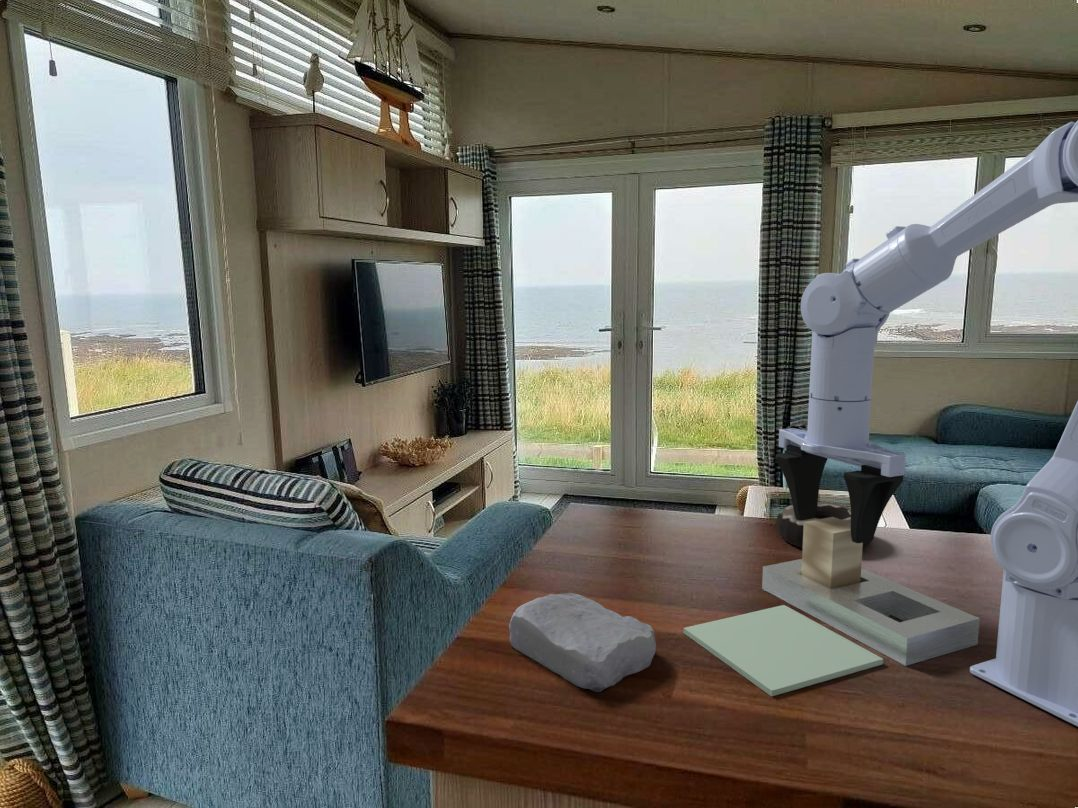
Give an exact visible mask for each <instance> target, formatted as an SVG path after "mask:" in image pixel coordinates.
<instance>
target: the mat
mask: <svg viewBox="0 0 1078 808" xmlns="http://www.w3.org/2000/svg"><path fill="white" fill-rule="evenodd" d="M683 634H684V635H686V636H687V637H688V638H690V639H691V640H693V641H694V642H695V643H697V644H698V645H700V646H701V647H703V648H704V649H705V650H706V651H707V652H709V653H710V654H712V655H714V657H716V658H718V659H719V660H720V661H721V662H723V663H724V664H725V665H727V666H729V667H730V668H732V669H733V670H734V671H736V672H737V673H738V674H739V675H741V676H742V677H744V678H745V679H746V680H748V681H749V682H751V683H752V684H753V685H755V686H756V687H758V688H759V689H760V690H762V691H763V692H765V693H766V694H767V695H769V696H770V697H774V696H778V695H781V694H786V693H788V692H792V691H795V690H799V689H802V688H803V689H804V688H805V687H810V686H812V685H816V684H820V683H824V682H826V681H830V680H833V679H837V678H840V677H844V676H849V675H851V674H853V673H854V674H855V673H858V672H861V671H865V670H868V669H872V668H875V667H879V666H881V665H883V664H884V658H882V657H880V656H878V655H877V654H875V653H873V652H871V651H869V650H868V649H866V648H864V647H862V646H860V645H858V644H857V643H855V642H853V641H851V640H850V639H848V638H846V637H844V636H842V635H840V634H838V633H837V632H835V631H833V630H832V629H829V628H827V627H825V626H823V625H822V624H820V623H818V622H816V621H815V620H813V619H811V618H810V617H808V616H806V615H804V614H802V613H800V612H798V611H796V610H795V609H792V608H790V607H789V606H787V605H785V604H781V605H778V606H777V605H776V606H773V607H769V608H763V609H760V610H757V611H751V612H748V613H747V612H746V613H744V614H743V613H742V614H738V615H735V616H734V615H733V616H730V617H725V618H721V619H718V620H717V619H716V620H713V621H708V622H703V623H698V624H695V625H690V626H686V627H683Z"/></svg>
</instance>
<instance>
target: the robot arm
mask: <svg viewBox="0 0 1078 808" xmlns="http://www.w3.org/2000/svg"><path fill="white" fill-rule="evenodd" d="M1066 203H1067V204H1071V203H1078V120H1077V121H1076V122H1074V121H1070V122H1067V123H1066V124H1064V125H1062V126H1060V127H1057V128H1056V129H1054V130H1053V131H1052V132H1051V133H1049V134H1048V135H1047V137H1046V138H1045V139H1044V140H1043V141H1042V142H1041V143H1039V144H1038V146H1036V148H1035V149H1034V150H1033V151H1031V152H1030V153H1029V154H1028V155H1026V156H1025V157H1024V158H1022V159H1021V160H1019V161H1018V162H1017V163H1015V164H1014V165H1013V166H1011V167H1010V168H1009V169H1007V170H1006V171H1005V172H1003V173H1002V174H1001V175H999V176H998V177H997V178H995V179H994V180H992V181H991V182H990V183H988V184H987V185H986V186H984V187H983V188H981V189H980V190H979V191H978V192H976V193H975V194H973V195H972V196H971V197H969V198H968V199H967V200H966V201H964V202H962V204H960V205H959V206H957V207H956V208H955V209H953V210H951V212H949V213H948V214H946V215H945V216H943V217H942V218H941V219H940V220H938V221H937V222H936V223H934V224H933V225H931V226H929V225H926V224H920V223H914V224H908V225H907V226H894V227H893V228H892V229H890V230H888V231H887V232H886V234H885V235H886V238H887V240H885V241H884V242H883V243H881V244H879V245H878V246H877V247H875V248H874V249H873V250H871V251H869V252H868V253H866V254H865V255H863V256H862V257H861V258H851V259H850V260H849V261H847V262H846V263H845V268H844V269H843V271H842V272H841V273H836V272H823V273H819V274H817V275H816V276H815V278H814V279H813V280H812V281H811V282H809V284H807V286H806V287H805V289H804V291H803V293H802V295H801V300H800V314H801V317H802V320H803V322H804V324H805V325H806V327H807V328H808V329H809V330H811V332H812V333H811V349H810V351H811V352H810V365H809V366H810V370H809V371H810V372H809V391H808V409H807V410H808V414H807V416H808V417H807V430H805V429H804V430H803V429H798V428H794V427H792V428H791V427H789V428H781V429H779V430H778V432H779V433H778V447H779V448H782V449H785V450H784V452H781V453H776V454H775V461H776V463H777V465H778V467H779V468H780V470H781V472H782V474H783V476H784V479H785V482H786V484H787V487H788V490H789V495H790V499H791V503H792V504H791V505H793V508H794V513H795V517H796V520H799V521H802V520H808V519H814V518H815V515H816V511H817V505H818V502H819V494H820V493H819V492H820V487H821V486H820V485H821V480H822V476H823V473H824V469H825V466H826V463H827V461H828V459H830V460H834V461H837V462H841V463H844V464H847V465H851V466H855V467H858V468H860V470H854V471H846V472H843V479H844V481H845V484H846V488H847V491H848V497H849V504H850V506H849V507H851V538H852V542H855V543H864V542H869V541H871V542H872V541H873V540H874V538H875V534H876V531H877V527H878V526H879V523H880V520H881V517H882V515H883V513H884V511H885V508H886V507H887V505H888V503H889V501H890V500H891V498H892V496H893V495H894V493H895V492H896V491H897V490H898V488H899V487H900V486H901V484H903V482H904V476H905V473H906V462H907V461H906V459H907V455H906V454H903V453H900V452H897V451H894V450H891V449H888V448H886V447H884V446H881V445H878V444H876V443H874V442H871V441H869V440H870V423H871V410H872V409H871V406H872V395H873V394H872V393H873V392H872V389H873V375H874V359H875V346H877V345H878V337H879V335H878V334H879V332H880V329H881V328H882V327H883V326H884V324H885V323H886V322H887V320H888V318H889V316H890V314H891V313H892V312H894V311H896V310H897V309H899V308H901V307H903V306H904V305H906V304H907V303H909V302H910V301H913V300H914V299H916V298H918V297H919V296H921V295H923V294H924V293H926V292H927V291H929V290H931V289H933V288H935V287H936V286H938V285H940V284H941V283H943V282H945V281H947V280H948V279H949V278H950V277H951V275H952V273H953V271H954V269H955V268H954V267H955V263H956V260H957V258H958V257H959V256H961V255H962V254H965V253H967V252H969V251H970V250H972V249H974V248H975V247H977V246H979V245H981V244H983V243H984V242H986V241H988V240H990V239H992V238H994V237H996V236H998V235H999V234H1001V233H1003V232H1005V231H1007V230H1008V229H1010V228H1012V227H1013V226H1015V225H1017V224H1020V223H1021V222H1023V221H1025V220H1026V219H1028V218H1030V217H1032V216H1034V215H1036V214H1038V213H1039V212H1041V211H1043V210H1044V209H1047V208H1048V207H1050V206H1053V205H1055V204H1056V205H1058V204H1066ZM873 537H874V538H873ZM990 546H991V551H992V553H993V556H994V558H995V560H996V562H997V563H998V564H999V566H1000V567H1001V569H1002V570H1003V572H1002V573H1003V575H1002V585H1001V586H1002V587H1001V596H1000V597H1001V598H1000V608H999V620H998V629H997V642H996V654H995V658H993V659H990V660H986V661H983V662H980V663H977V664H973V665H971V666H970V667H969V672H970V674H972V675H974V676H975V677H978V678H980V679H982V680H984V681H986V682H988V683H990V684H992V685H994V686H996V687H997V688H1000V689H1002V690H1003V691H1005V692H1008V693H1010V694H1012V695H1014V696H1015V697H1017V698H1019V699H1022V700H1024V701H1026V702H1028V703H1030V704H1032V705H1033V706H1035V707H1038V708H1040V709H1042V710H1044V711H1045V712H1048V713H1050V714H1052V715H1053V716H1056V717H1057V718H1060V719H1062V720H1064V721H1065V722H1067V723H1070V724H1071V725H1073V726H1076V727H1078V400H1077V401H1076V403H1075V406H1074V408H1073V410H1072V412H1071V415H1070V416H1069V419H1068V421H1067V424H1066V425H1065V428H1064V431H1063V432H1062V435H1061V438H1060V440H1059V442H1058V443H1057V446H1056V448H1055V451H1054V453H1053V454H1052V456H1051V458H1050V459H1049V461H1047V462H1046V463H1045V465H1044V466H1043V467H1042V468H1040V470H1039V471H1038V472H1037V473H1036V474H1035V475H1034V476H1033V477H1032V478H1031V480H1029V482H1028V483H1027V484H1026V485H1025V486H1024V490H1023V492H1022V494H1021V496H1020V498H1019V499H1018V500H1017V502H1016V503H1015V504H1013V506H1011V507H1010V508H1008V509H1007V510H1006V511H1004V512H1002V514H1000V515H999V516H998V517H997V518H996V520H995V522H994V523H993V525H992V527H991V532H990Z"/></svg>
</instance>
